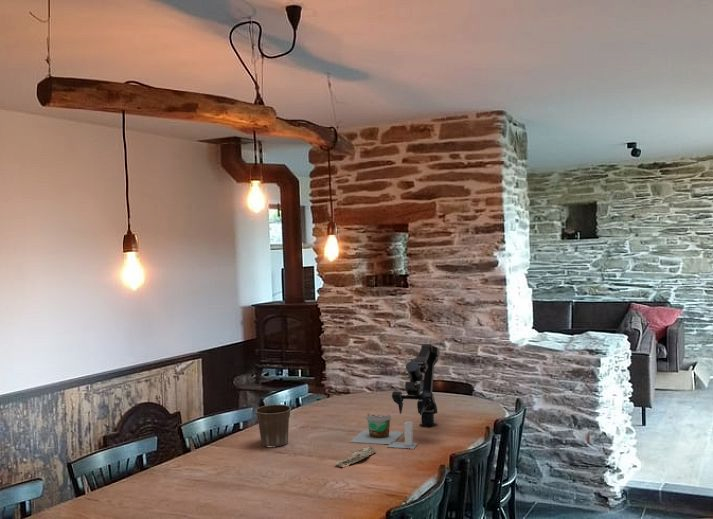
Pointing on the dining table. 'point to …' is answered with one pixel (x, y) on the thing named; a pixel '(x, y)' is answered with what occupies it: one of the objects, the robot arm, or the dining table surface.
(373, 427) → the food container
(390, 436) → the pull board
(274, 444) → the plant pot
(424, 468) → the dining table surface
